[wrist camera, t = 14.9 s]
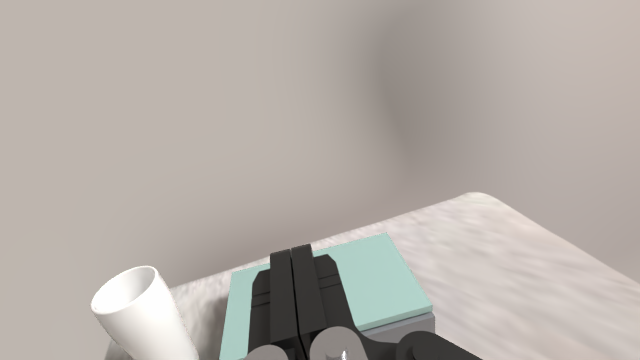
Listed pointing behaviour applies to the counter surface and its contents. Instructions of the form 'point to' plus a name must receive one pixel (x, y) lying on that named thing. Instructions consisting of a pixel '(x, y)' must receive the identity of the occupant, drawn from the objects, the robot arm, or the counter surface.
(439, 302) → the counter surface
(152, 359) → the white tapered cylinder
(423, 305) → the panel
